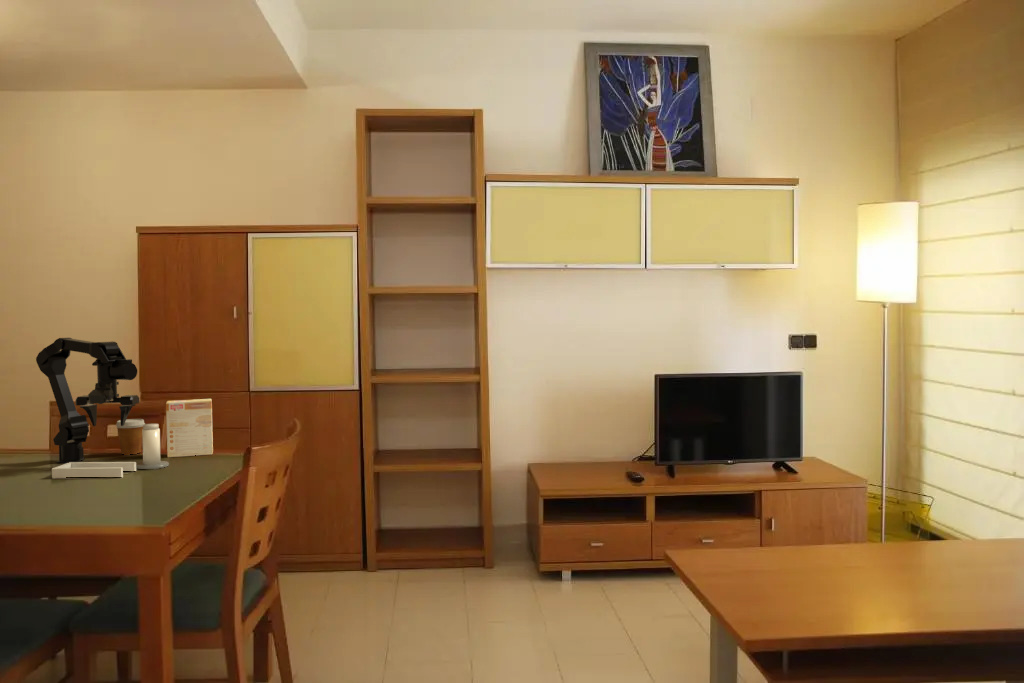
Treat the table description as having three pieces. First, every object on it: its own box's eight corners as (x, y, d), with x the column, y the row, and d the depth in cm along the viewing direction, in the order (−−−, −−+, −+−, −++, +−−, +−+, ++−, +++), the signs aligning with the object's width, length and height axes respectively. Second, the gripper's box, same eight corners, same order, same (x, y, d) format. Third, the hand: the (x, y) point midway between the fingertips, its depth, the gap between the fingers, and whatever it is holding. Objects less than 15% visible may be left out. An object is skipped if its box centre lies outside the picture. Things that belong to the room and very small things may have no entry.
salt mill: (142, 465, 259) (141, 426, 258) (143, 463, 264) (142, 423, 263) (160, 464, 261) (159, 425, 260) (160, 461, 266) (159, 423, 265)
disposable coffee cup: (138, 456, 281) (137, 422, 281) (111, 456, 281) (110, 422, 281) (150, 451, 291) (149, 418, 290) (124, 451, 291) (124, 418, 290)
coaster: (129, 470, 257) (129, 466, 257) (143, 463, 267) (143, 461, 267) (160, 469, 257) (160, 466, 257) (173, 463, 267) (173, 460, 267)
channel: (52, 478, 245) (51, 468, 245) (69, 471, 255) (69, 462, 255) (121, 477, 245) (121, 468, 245) (136, 471, 255) (136, 461, 255)
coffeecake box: (213, 451, 290) (212, 398, 289) (212, 454, 283) (211, 400, 283) (168, 454, 285) (167, 400, 284) (167, 457, 278) (165, 402, 277)
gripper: (65, 381, 257) (67, 430, 257) (123, 381, 257) (125, 429, 258) (83, 378, 268) (85, 424, 268) (139, 378, 268) (140, 424, 269)
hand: (108, 426), depth 266 cm, fingers open, 9 cm apart
